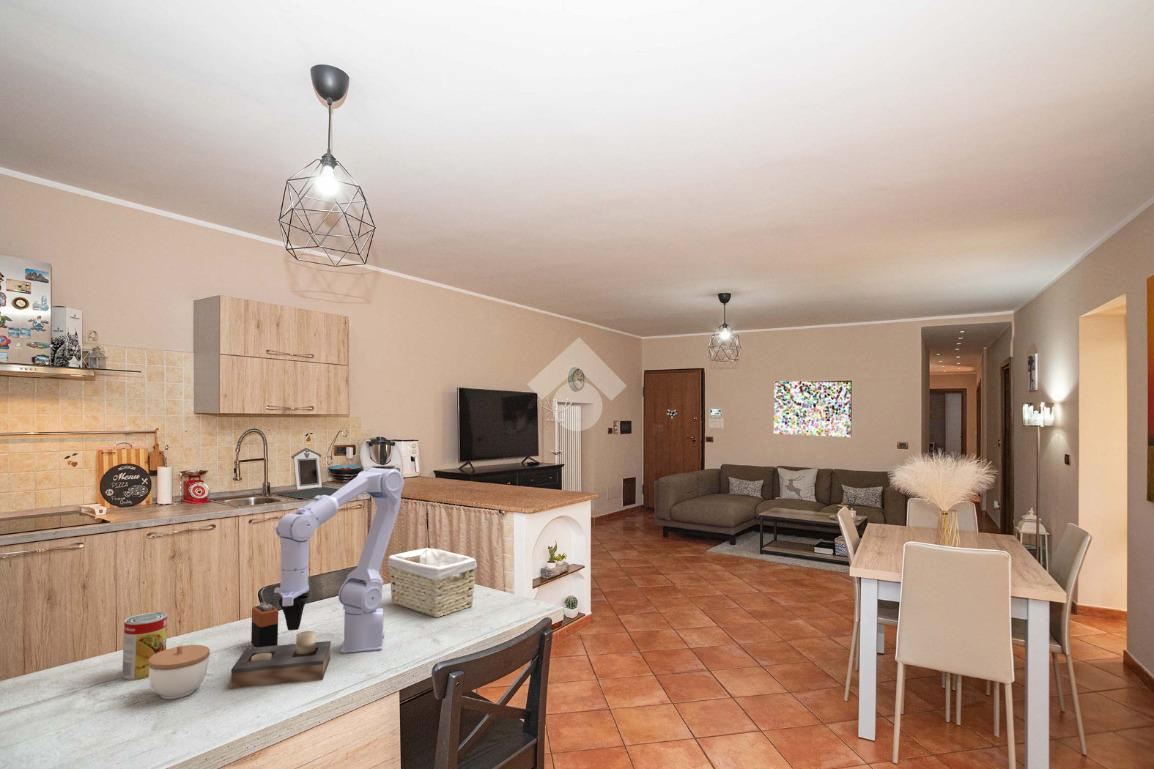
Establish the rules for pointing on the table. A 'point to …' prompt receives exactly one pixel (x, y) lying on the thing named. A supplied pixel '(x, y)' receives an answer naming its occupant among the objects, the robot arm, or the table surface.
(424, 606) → the storage basket
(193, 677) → the lidded jar
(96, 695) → the table surface
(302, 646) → the inner peg
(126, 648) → the canned food
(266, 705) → the table surface
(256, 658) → the outer peg
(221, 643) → the table surface
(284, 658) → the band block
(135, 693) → the table surface
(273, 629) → the battery
